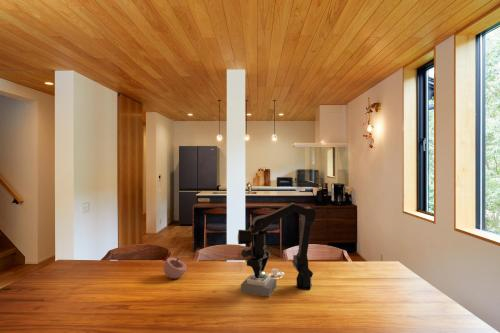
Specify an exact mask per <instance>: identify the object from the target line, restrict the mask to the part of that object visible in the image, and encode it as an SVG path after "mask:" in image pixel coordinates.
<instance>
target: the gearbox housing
mask: <svg viewBox="0 0 500 333" xmlns="http://www.w3.org/2000/svg"><path fill="white" fill-rule="evenodd" d="M273 278H274V277H272V275H269V274H265V280H264V281H260V280H255V274H254V272H253V273H252V274H250V275H249V276H248V277H247V278H245V280H243V281H242V282H241V284H240V291H241V294H247V293H248V294H247V295H253V294H254V295H253V296H259V295H262V296H261V297H266V296H268V297H267V298H270V297H271V296H272V294H273V293H274V292H275V290H276V288H277V279H273ZM274 289H275V290H274ZM272 292H273V293H272ZM270 295H271V296H270Z"/></svg>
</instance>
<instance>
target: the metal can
mask: <svg viewBox="0 0 500 333" xmlns="http://www.w3.org/2000/svg"><path fill="white" fill-rule="evenodd" d="M265 275H266V271H265V270H264V271H263V270H261V271H260V274H259V277H258V278H255V280H260V281H264V280H265Z"/></svg>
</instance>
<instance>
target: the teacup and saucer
mask: <svg viewBox="0 0 500 333" xmlns="http://www.w3.org/2000/svg"><path fill="white" fill-rule="evenodd" d="M268 275H271V277H272V278H273V279H276V280H278V279H279V278H280V279H282V278H283V276H284V275H285V272H284V271H279V269H278V268H272V269H271V270H270V273H269V274H268Z"/></svg>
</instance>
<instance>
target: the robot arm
mask: <svg viewBox="0 0 500 333" xmlns="http://www.w3.org/2000/svg"><path fill="white" fill-rule="evenodd" d="M292 213H297V214H299V215H300V220H301V230H300V237H299V243H298V251H297V253H296V254H293V257H292V258H293V259H292V262H291V263H292V266H293V267H294V268H295V270H296V271H297V276H296V288H297V289H301V290H306V291H307V290H308V291H310V290H311V288H312V287H313V283H312V278H313V275H314V272H313V271H312V270H311V269H310V268H309V259H308V252H309V251H308V250H309V244H310V237H311V231H312V230H311V229H312V226H313V225H314V223H315V221H316V218H317V211H316V209H314V208H313V207H310V206H301V205H299V204H296V203H294V202H290V203H288V204H287V205H285V206H282V207H280V208H279V209H276V210H273V211H272V212H270V213H267V214H261V215H258V216H254V218H253V219H252V223H251V225H250V226H249V227H248V229H238V233H237V245H250V244H251V243H252V242H253V243H252V244H253V245H252V246H251V247H247V248H245V249H242V250H241V253H240V255H241V256H242V257H243V259H245V258H248V257H250V258H248V259H247V261H246V266H247V267H251V268H252V271H253V273H254V274H255V278H258V277H259V274H260V271H261V270H263V271H265V269H266V266H267V264H268V261H269V260H270V257H271V251H270V250H269V249H266V248H267V244H266V235H269V234H270V232H269V231H268V230H267V229H266V228H268V227H269V226H270V225H271V224H273V223H274V222H275V221H278V220H279V219H282V218H284V217H286V216H288V215H291V214H292Z"/></svg>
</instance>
